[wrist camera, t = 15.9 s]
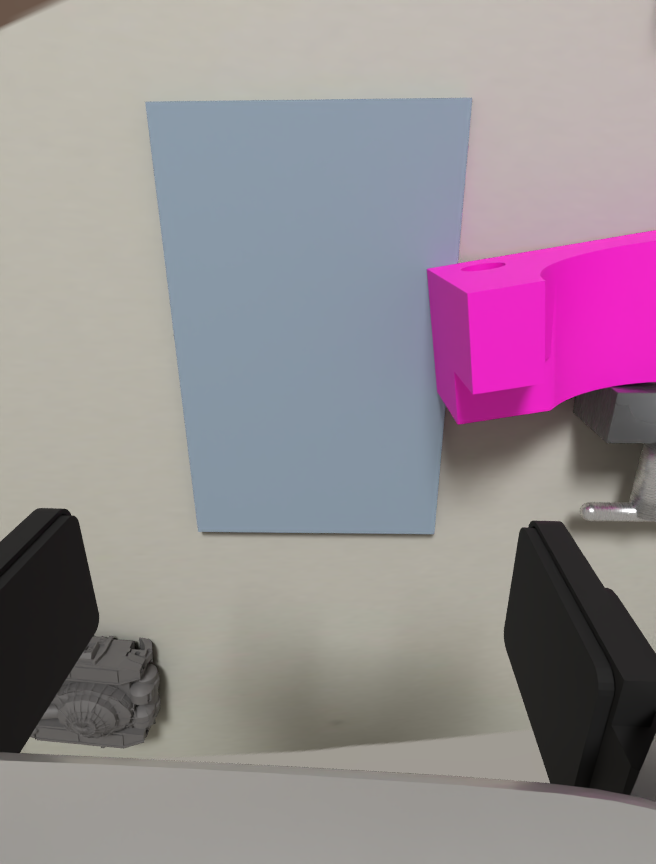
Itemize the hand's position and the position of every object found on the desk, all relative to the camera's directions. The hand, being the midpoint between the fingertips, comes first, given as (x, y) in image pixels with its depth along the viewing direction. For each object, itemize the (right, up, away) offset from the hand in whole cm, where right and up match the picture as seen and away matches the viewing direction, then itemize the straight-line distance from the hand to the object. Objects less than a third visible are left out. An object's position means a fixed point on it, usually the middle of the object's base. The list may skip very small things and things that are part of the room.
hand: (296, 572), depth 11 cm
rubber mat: (0, +7, +16) cm, 18 cm away
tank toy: (-17, -14, +27) cm, 34 cm away
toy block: (+13, +9, +15) cm, 22 cm away
